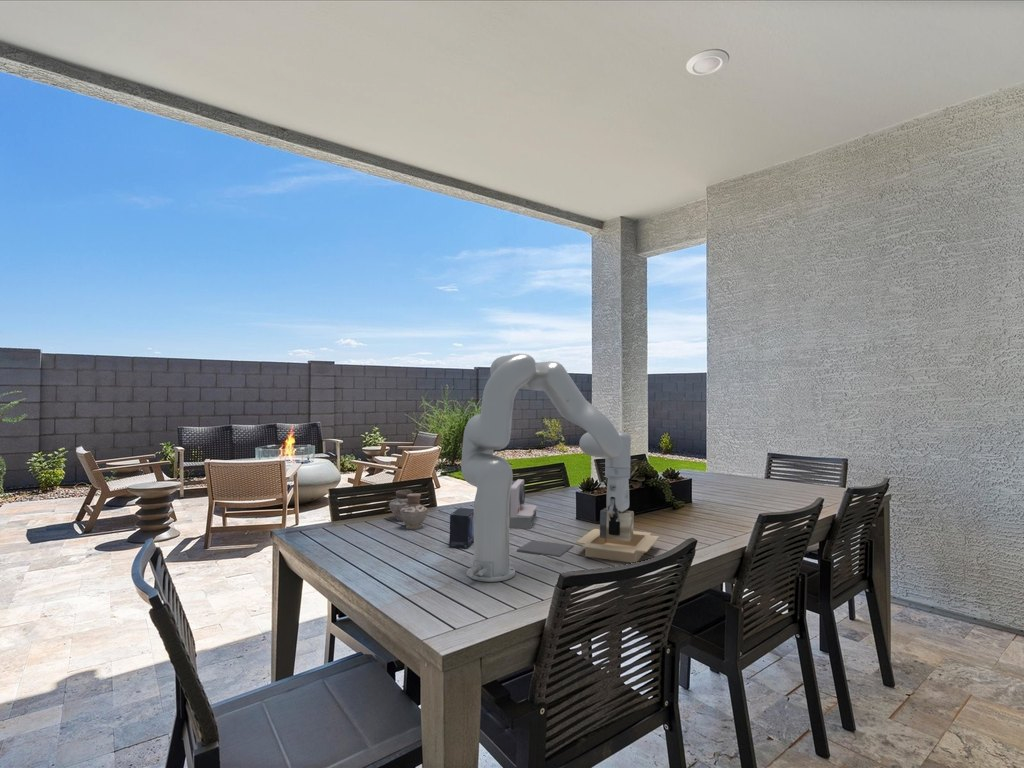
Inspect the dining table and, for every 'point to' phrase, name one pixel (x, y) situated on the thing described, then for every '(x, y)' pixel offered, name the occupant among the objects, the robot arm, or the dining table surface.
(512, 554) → the dining table surface
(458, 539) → the small box
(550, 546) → the mat
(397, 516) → the pottery
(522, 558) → the dining table surface
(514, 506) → the grey l-shaped block
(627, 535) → the box
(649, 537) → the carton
